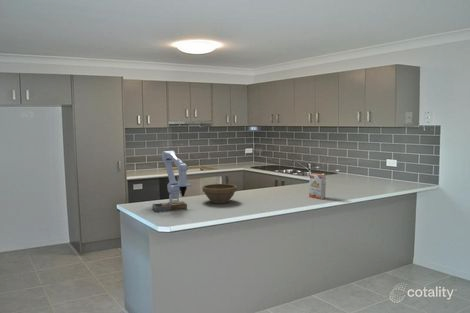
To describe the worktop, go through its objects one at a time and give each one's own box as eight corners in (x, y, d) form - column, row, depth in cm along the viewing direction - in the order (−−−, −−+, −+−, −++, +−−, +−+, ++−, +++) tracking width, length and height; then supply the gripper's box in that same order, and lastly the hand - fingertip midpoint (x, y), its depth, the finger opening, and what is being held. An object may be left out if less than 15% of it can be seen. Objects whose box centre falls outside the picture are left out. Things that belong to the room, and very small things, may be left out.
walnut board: (168, 207, 323) (168, 202, 323) (182, 206, 328) (182, 201, 327) (171, 210, 312) (171, 205, 312) (186, 209, 317) (186, 204, 316)
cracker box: (308, 196, 365) (309, 173, 363) (313, 196, 369) (313, 173, 367) (320, 199, 354) (321, 175, 352) (325, 198, 358) (326, 174, 356)
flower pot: (197, 200, 351) (197, 184, 349) (227, 197, 364) (227, 182, 362) (211, 206, 326) (210, 190, 324) (242, 203, 339) (242, 187, 337)
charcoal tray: (152, 208, 319) (152, 204, 318) (167, 207, 323) (167, 202, 323) (155, 211, 308) (155, 207, 307) (171, 210, 312) (171, 206, 312)
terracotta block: (162, 209, 313) (161, 209, 315) (167, 209, 315) (166, 208, 317) (162, 204, 312) (161, 204, 314) (167, 203, 314) (166, 203, 316)
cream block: (171, 202, 323) (171, 199, 323) (176, 201, 324) (176, 198, 324) (173, 203, 319) (172, 200, 319) (178, 202, 321) (178, 199, 321)
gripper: (174, 180, 316) (175, 197, 317) (193, 179, 321) (193, 196, 323) (172, 179, 323) (173, 196, 324) (190, 178, 328) (190, 194, 329)
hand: (183, 196), depth 324 cm, fingers closed
